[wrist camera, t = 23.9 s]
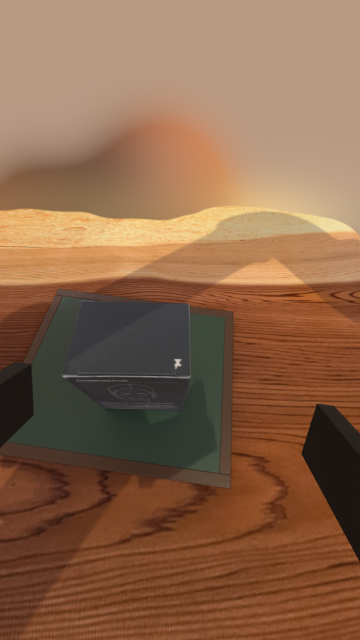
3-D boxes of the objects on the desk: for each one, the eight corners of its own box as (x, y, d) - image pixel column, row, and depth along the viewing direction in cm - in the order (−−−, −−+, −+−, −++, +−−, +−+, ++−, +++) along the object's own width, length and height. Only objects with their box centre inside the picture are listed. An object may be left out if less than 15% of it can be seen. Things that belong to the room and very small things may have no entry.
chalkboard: (231, 315, 30) (233, 311, 29) (228, 487, 21) (230, 489, 20) (61, 293, 31) (57, 288, 30) (-13, 451, 22) (-22, 451, 21)
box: (183, 356, 26) (191, 301, 17) (182, 411, 23) (193, 380, 14) (110, 354, 26) (79, 297, 17) (101, 409, 23) (57, 377, 14)
